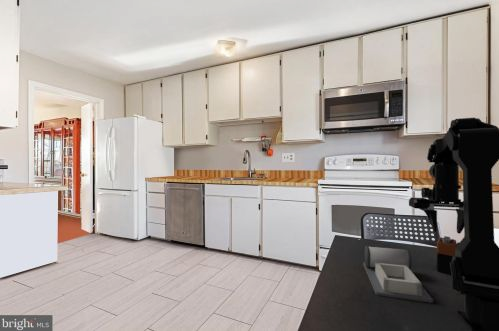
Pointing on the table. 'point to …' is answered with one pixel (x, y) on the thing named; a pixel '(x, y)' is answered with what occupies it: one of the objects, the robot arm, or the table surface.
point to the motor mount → (393, 274)
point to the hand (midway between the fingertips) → (446, 232)
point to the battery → (445, 254)
